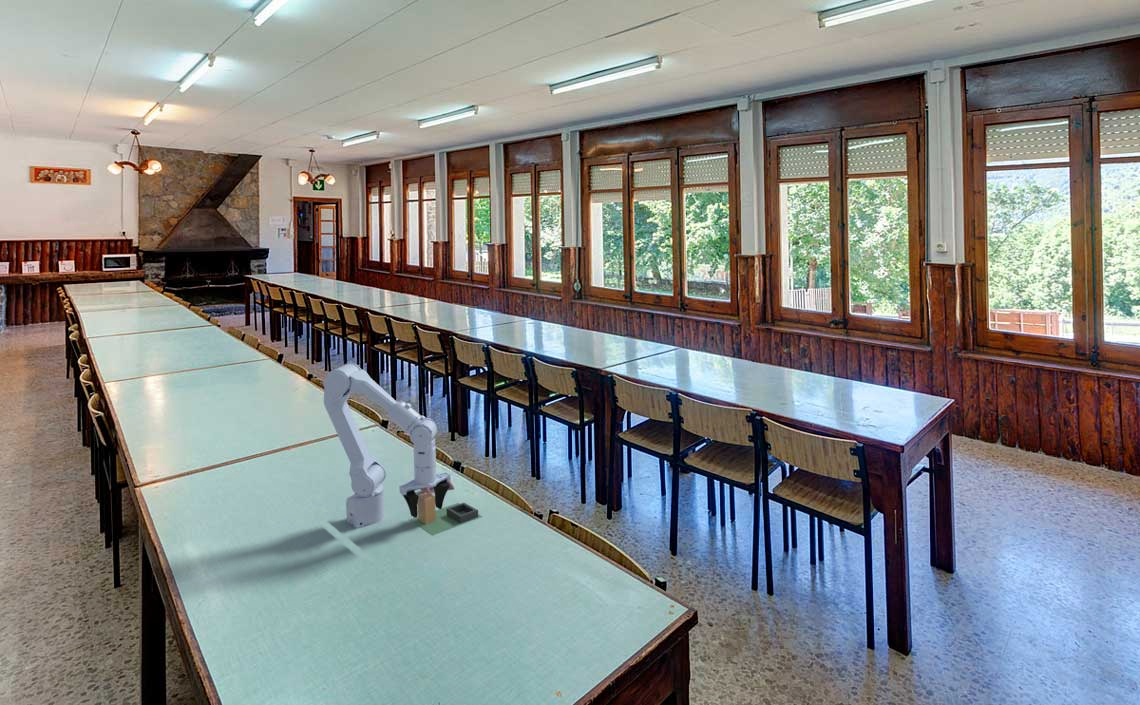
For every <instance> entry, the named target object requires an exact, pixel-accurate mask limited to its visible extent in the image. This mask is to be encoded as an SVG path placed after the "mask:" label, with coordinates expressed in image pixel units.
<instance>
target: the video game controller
mask: <svg viewBox="0 0 1140 705" xmlns="http://www.w3.org/2000/svg"><path fill="white" fill-rule="evenodd" d="M447 483H449V484H450V487H449V489H448V490H453V491H454V490H455V486H454V484H453V483H452V482H451V481H447ZM420 491H421V492H422V494H423V493H429V494H431V495H433V493H435V492H434V487H425V488H422V489H420Z"/></svg>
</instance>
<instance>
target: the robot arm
mask: <svg viewBox="0 0 1140 705" xmlns="http://www.w3.org/2000/svg"><path fill="white" fill-rule="evenodd" d="M322 386H323V390H324V391H323V405H324V407H325V410H326V412H327V414H328V416H329V419H330V421H331V423H332V425H333V427H334V429H335V432H336V434H337V437H338V438H339V441H340V443H341V444H342V447H343V449H344V452H345V454H346V456H347V458H348V460H349V463H350V467H349V471H348V472H349V473H348V474H349V477H350V480H351V483H350V486H351V489H352V491H353V493H354V494H353V495H351V496H348V497H347V498H346V500H345V507H346V521H347V522H348V523H349V524H351V525H352V526H353V527H354V528H355V529H359V528H362V527H365V526H369V525H374V524H377V523H379V522H382V521H383V520H384V519H385V516H386V515H385V497H384V495H385V494H384V486H383V482H384V481H385V479H386V477H387V471H386V469H385V466H383V465H382V464H381V463H380V462H379V460H378V458H377V457H376V456H374V455H373V454H372V453H370V451H369V449H368V447H367V444H366V442H365V440H364V437H363V435H362V434H361V431H360V428H359V426H358V424H357V422H356V420H355V417H354V416H353V413H352V411H351V409H350V406H349V404H348V400H349V397H350V396H351V395H353V394H354V395H360V394H361V395H365V396H366V397H367V398H369V399H370V400H372V401H373V402H374V403H375V404H377V405H378V406H380V407H381V408H383V409H384V410H385V411H386V412H387V413H388V419H389V420H390V421H392V422H393V423H394V424H395V425H397V426H398V427H399V428H400V429H402V430H403V431H405V433H407V434H409V435H408V436H409V439H410V442H411V443H413V471H414V475H413V477H414V479H413V480H410V481H409V482H406V483H405V484H402V485H399V494H400V495H401V496H402V497H403V498H404V500H405V502H406V504H407V506H408V509H409V513H410V516H411V517H413V518H416V517H418V498H419V496H418V495H419V494H417V492H416V491H418V490H421V489H422V488H425V487H432V488H434V492H433V493H434V497H435V508H437V509H438V510H439V509H442V508H443V504H444V500H445V497H446V494H447V492H448V490H450V489H449V487H450V484H449V483H447V481H450V482H451V481H452V479H451V473H449V472H442V473H437V460H436V459H437V456H436V453H437V452H436V438H435V436H436V435H437V433H438V425H437V424H436V422H435V421H434V419H432V418H429V417H426V416H424V415H421V414H420V413H418V411H416V410H415V409H414V408H412V404H411V403H409V402H407V403H406V402H405V401H397V400H395V398H393V397H392V395H390V394H389V393H388V392H387V391H386V390H384V388H382V386H380V385H379V384H378V383H377V382H376V381H375V380H373V378H371V376H370V375H369V374H368V372H367V371H366V370H365V369H362V368H361V367H360V366H359V365H358V364H356V363H355V362H346V363H345V364H343V365H341V366H340V367H338V368H335V369H332V370H331V371H329V372H328V373H327V374H326V376H325V378H324V379H323V381H322Z"/></svg>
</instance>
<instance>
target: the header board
mask: <svg viewBox="0 0 1140 705" xmlns="http://www.w3.org/2000/svg"><path fill="white" fill-rule="evenodd" d="M435 516H436V521H434V522H431V523H428V524H425V523H423V522H421V521H420V520H418V516H417V517H416V518H414V517H413V518H409V521H410V522H411V523H413V524H414V525H416V526H417V527H419V528H420V529H421V530H424V531H425V532H426V533H427V534H430V535H431V536H434V535H437V534H440V533H443V532H446V531H449V530H451V529H453V528H456V527H459V526H462V525H465V524H466V523H470V522H472V521H474V520H475V521H476V520H478V519H480V518H483V516H482V515H481V514H479V510H478V509H476V508H475V507H473V506H471V505H470V504H467V503H466V502H462V503H459V502H457V503H456V502H455V503H454V504H450V505H448V506H445V507H442V509H439V508H438V509H435Z"/></svg>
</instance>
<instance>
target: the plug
mask: <svg viewBox="0 0 1140 705" xmlns="http://www.w3.org/2000/svg"><path fill="white" fill-rule="evenodd" d="M431 494H432V493H431ZM431 494H429V493H423V492H422V493H420V494H417V495H418V496H419V498H418V504H417V512H418V514H417V517H418V520H420V521H421V522H423V523H425V524H428V523H431V522H434V521H436V516H435V511H436V505H435V495H433V494H432V495H431Z"/></svg>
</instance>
